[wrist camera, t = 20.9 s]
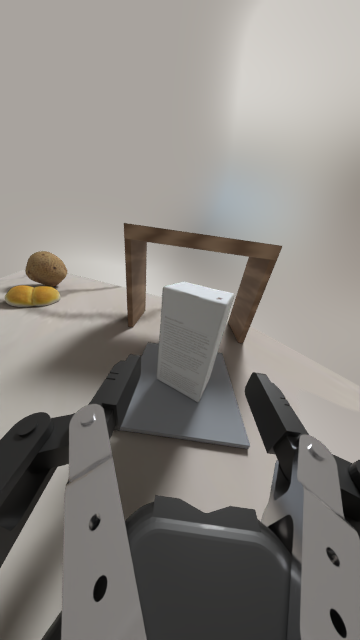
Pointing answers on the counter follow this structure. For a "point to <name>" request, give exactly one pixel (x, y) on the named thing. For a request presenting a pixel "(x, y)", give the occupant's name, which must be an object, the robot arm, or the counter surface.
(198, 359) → the skincare box
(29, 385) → the counter surface
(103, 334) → the counter surface
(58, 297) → the bread roll
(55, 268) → the brown potato
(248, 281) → the walnut shelf
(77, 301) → the counter surface
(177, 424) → the slate mat
